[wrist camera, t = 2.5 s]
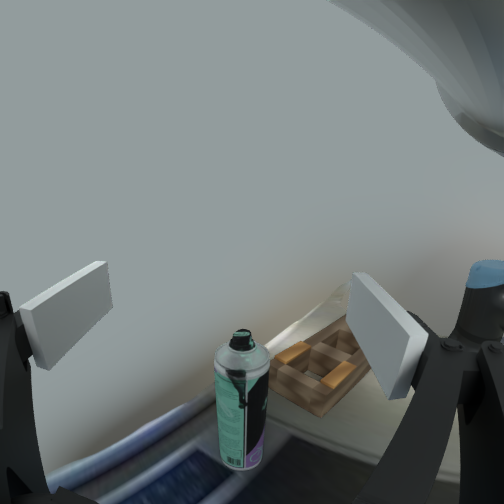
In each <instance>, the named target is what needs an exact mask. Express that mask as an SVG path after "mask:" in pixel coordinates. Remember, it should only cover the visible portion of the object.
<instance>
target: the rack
mask: <svg viewBox="0 0 504 504" xmlns="http://www.w3.org/2000/svg"><path fill="white" fill-rule="evenodd" d="M370 369H371V366H370V364H369V362H368V360H367V359H366V357H365V355H364V353H363V351H362V349H361V347H360V346H359V344H358V342H357V340H356V338H355V337H354V335H353V333H352V331H351V329H350V328H349V326H348V324H347V322H346V315H344V316H343V317H341V318H340V319H338V320H336V321H335V322H333V323H332V324H330V325H329V326H327V327H326V328H324V329H322V330H321V331H319V332H318V333H316V334H314V335H313V336H311V337H310V338H308V339H306V340H305V341H303V342H302V341H300V342H298V343H296V344H294V345H293V346H291V347H289V348H288V349H286V350H284V351H282V352H281V353H279V354H277V355H275V358H274V359H272V360H270V370H269V383H268V387H269V388H270V389H272V390H274V391H275V392H277V393H278V394H280V395H282V396H283V397H285V398H287V399H288V400H290V401H292V402H293V403H295V404H297V405H298V406H300V407H302V408H304V409H305V410H307V411H309V412H311V413H312V414H314V415H316V416H318V417H319V418H321V417H322V416H323V415H325V414H326V413H327V412H328V411H329V410H330V409H331V408H332V407H333V406H334V405H335V404H336V403H338V402H339V401H340V400H341V399H342V398H343V397H344V396H345V395H346V394H347V393H348V392H349V391H350V390H351V389H352V388H353V387H354V386H355V385H356V384H357V383H358V382H359V381H360V380H361V379H362V378H363V377H364V376H365V375H366V373H367V372H368V371H369V370H370ZM307 370H309V371H311V372H313V373H315V374H317V375H319V376H321V377H323V378H322V379H321V381H320V382H319V381H317V380H315V379H313V378H311V377H309V376H307V375H305V374H303V373H304V372H305V371H307Z"/></svg>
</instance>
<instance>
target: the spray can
mask: <svg viewBox="0 0 504 504" xmlns="http://www.w3.org/2000/svg"><path fill="white" fill-rule="evenodd" d="M214 369H215V370H214V371H215V389H216V405H217V419H218V432H219V444H220V455H221V459H222V462H223V463H224V464H225V465H226V466H227V467H229V468H231V469H233V470H238V471H245V470H250V469H252V468H254V467H256V466H257V465H258V464H259V463H260V461H261V458H262V452H263V442H264V431H265V419H266V408H267V396H268V383H269V370H270V359H269V352H268V350H267V349H266V348H265V347H264V346H263V345H261V344H259V343H256V341H254V340H253V339H252V336H251V332H250V331H249V330H246V329H240V330H238V331H236V332H235V333H234V334H233V338H232V339H231V340H230V341H229V342H226V343H224V344H222V345H221V346H219V347H218V348H217V349H216V351H215V359H214Z"/></svg>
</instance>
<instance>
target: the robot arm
mask: <svg viewBox="0 0 504 504" xmlns="http://www.w3.org/2000/svg"><path fill="white" fill-rule="evenodd" d="M327 1H329V2H331V3H332V4H334V5H336V6H338V7H339V8H341V9H343V10H344V11H346V12H348V13H349V14H351V15H352V16H354V17H356V18H357V19H359V20H360V21H362V22H363V23H365V24H366V25H368V26H369V27H371V28H372V29H374V30H375V31H377V32H378V33H379V34H381V35H382V36H383V37H385V38H386V39H387V40H389V41H390V42H391V43H393V44H394V45H395V46H397V47H398V48H399V49H400V50H402V51H403V52H404V53H405V54H406V55H408V56H409V57H410V58H411V59H412V60H414V61H415V62H416V63H417V64H418V65H419V66H420V67H422V68H423V69H424V70H425V71H426V72H427V73H428V74H429V75H430V76H431V77H433V78H434V79H435V81H436V85H437V88H438V91H439V94H440V96H441V98H442V101H443V102H444V104H445V106H446V108H447V109H448V111H449V112H450V114H451V115H452V117H453V118H454V119H455V120H456V122H457V123H458V124H459V125H460V126H461V127H462V128H463V129H464V130H465V131H466V132H467V133H468V134H469V135H471V136H472V137H473V138H474V139H476V140H477V141H478V142H480V143H481V144H483V145H484V146H486V147H487V148H489V149H491V150H493V151H494V152H496V153H498V154H499V155H501V156H503V157H504V0H327ZM112 308H113V304H112V297H111V291H110V283H109V274H108V264H107V262H105V261H95V262H94V263H92V264H90V265H88V266H86V267H85V268H83V269H81V270H79V271H78V272H76V273H74V274H72V275H71V276H69V277H67V278H66V279H64V280H62V281H60V282H59V283H57V284H55V285H54V286H52V287H50V288H49V289H47V290H46V291H44V292H42V293H41V294H39V295H38V296H36V297H34V298H33V299H31V300H29V301H28V302H26V303H25V304H23V305H22V306H20V307H19V310H18V311H17V312H15V313H13V308H12V304H11V300H10V296H9V293H8V292H5V291H1V292H0V504H99V503H97V502H95V501H93V500H90V499H88V498H85V497H83V496H80V495H78V494H76V493H74V492H71V491H69V490H67V489H65V488H63V487H60V486H59V488H58V489H57V491H56V493H55V494H51V493H50V491H49V489H48V486H47V483H46V479H45V475H44V471H43V466H42V462H41V457H40V452H39V446H38V440H37V435H36V427H35V420H34V411H33V401H32V385H31V366H30V363H29V360H28V358H29V357H30V356H32V355H33V357H34V360H35V362H36V365H37V367H40V368H43V369H46V370H50V369H51V368H52V367H53V366H54V365H55V364H56V363H57V362H58V361H59V360H60V359H61V358H62V357H63V356H64V355H65V354H66V353H67V352H68V351H69V350H70V349H71V348H72V347H73V346H74V345H75V344H76V343H77V342H78V341H79V340H80V339H81V338H82V337H83V336H84V335H85V334H86V333H87V332H88V331H89V330H90V329H91V328H92V327H93V326H94V325H95V324H96V323H97V322H98V321H99V320H100V319H101V318H102V317H103V316H104V315H106V314H107V313H108V312H109V311H110V310H111V309H112ZM346 322H347V324H348V326H349V328H350V329H351V331H352V333H353V335H354V337H355V338H356V340H357V342H358V344H359V346H360V347H361V349H362V351H363V353H364V355H365V357H366V359H367V360H368V362H369V364H370V366H371V368H372V370H373V372H374V374H375V375H376V377H377V379H378V381H379V383H380V385H381V387H382V389H383V391H384V393H385V395H386V397H387V399H388V400H393V399H400V398H406V396H407V394H408V391H409V389H410V386H411V385H412V387H413V388H414V390H415V393H414V395H413V398H412V400H411V402H410V404H409V406H408V409H407V411H406V413H405V415H404V417H403V419H402V421H401V423H400V425H399V427H398V429H397V431H396V433H395V435H394V437H393V438H392V440H391V442H390V444H389V446H388V448H387V449H386V451H385V453H384V455H383V456H382V458H381V460H380V461H379V463H378V465H377V466H376V468H375V470H374V471H373V473H372V474H371V476H370V477H369V479H368V480H367V482H366V483H365V485H364V486H363V488H362V489H361V491H360V492H359V494H358V495H357V496H356V498H355V499H354V500H353V502H352V503H351V504H425V503H426V500H427V498H428V496H429V493H430V491H431V489H432V486H433V484H434V481H435V478H436V476H437V473H438V470H439V467H440V465H441V462H442V459H443V456H444V453H445V449H446V446H447V443H448V439H449V436H450V432H451V428H452V425H453V421H454V416H455V412H456V408H457V411H458V421H459V435H460V464H461V470H460V498H459V504H504V345H502V343H500V341H501V339H502V336H503V333H504V261H501V260H482V261H478V262H476V263H474V264H473V265H472V267H471V269H470V273H469V277H468V280H467V282H466V290H465V294H464V298H463V302H462V305H461V309H460V312H459V316H458V320H457V323H456V326H455V328H454V330H453V331H452V333H451V334H450V336H449V337H448V338H439V337H438V336H437V335H436V334H435V333H434V332H433V331H432V330H431V329H430V328H429V327H428V326H427V325H426V324H425V323H423V321H422V320H421V319H420V318H419V317H418V316H417V315H415V314H413V313H411V312H409V311H405V310H404V309H403V308H402V307H401V306H400V305H399V304H398V303H397V302H396V301H395V300H394V299H393V298H392V297H391V296H390V295H389V294H388V293H387V292H386V291H385V290H384V289H383V288H382V287H381V286H380V285H379V284H378V283H377V282H376V281H375V280H374V279H373V278H372V277H371V276H369V275H368V274H367V273H363V272H360V273H359V272H353V275H352V282H351V289H350V296H349V302H348V308H347V314H346Z"/></svg>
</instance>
